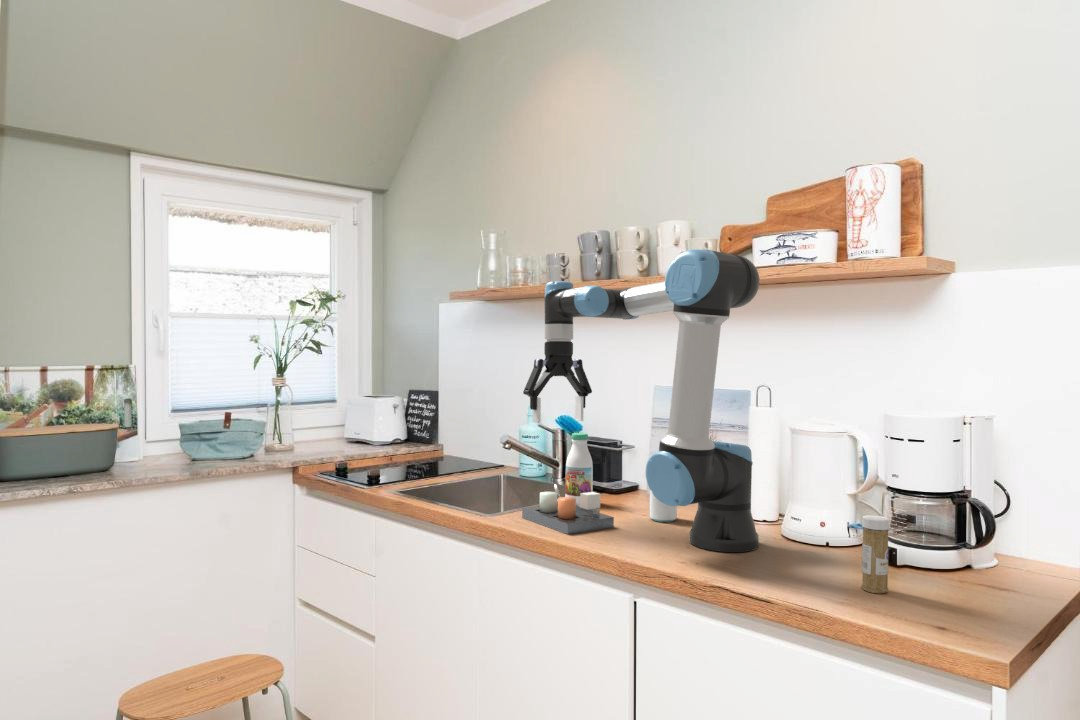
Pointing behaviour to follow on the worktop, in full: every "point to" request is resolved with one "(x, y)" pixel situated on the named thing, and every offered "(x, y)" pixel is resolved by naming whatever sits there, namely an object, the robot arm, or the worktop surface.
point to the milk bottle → (579, 468)
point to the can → (661, 510)
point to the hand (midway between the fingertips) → (558, 421)
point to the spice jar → (875, 553)
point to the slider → (590, 500)
